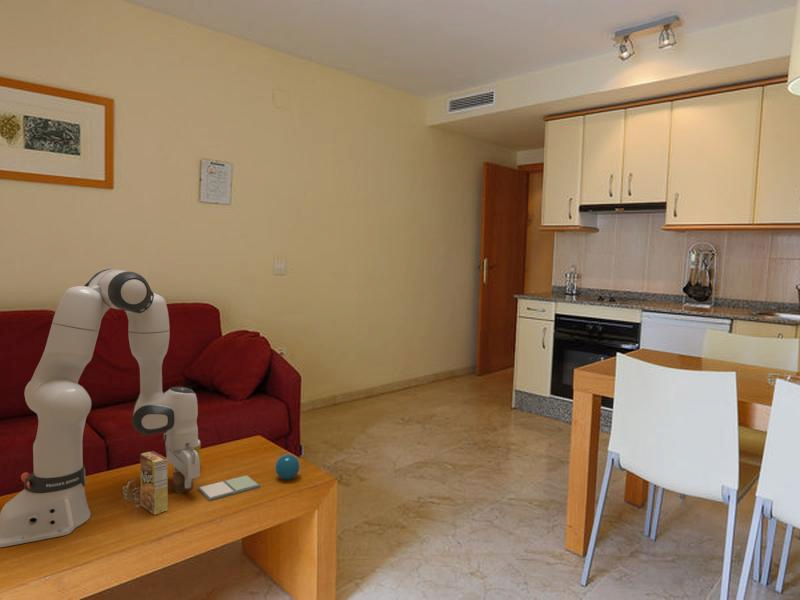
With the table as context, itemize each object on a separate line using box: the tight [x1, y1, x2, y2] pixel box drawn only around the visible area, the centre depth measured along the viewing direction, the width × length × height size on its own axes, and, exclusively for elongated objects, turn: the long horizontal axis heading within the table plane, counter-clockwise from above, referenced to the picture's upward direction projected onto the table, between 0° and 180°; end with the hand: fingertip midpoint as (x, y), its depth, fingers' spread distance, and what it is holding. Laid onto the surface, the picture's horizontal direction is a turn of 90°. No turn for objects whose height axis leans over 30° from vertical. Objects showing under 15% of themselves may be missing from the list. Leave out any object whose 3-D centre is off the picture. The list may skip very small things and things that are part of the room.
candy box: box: [139, 450, 169, 516], centre depth 152 cm, size 9×4×15 cm, turn 50°
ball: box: [274, 453, 301, 481], centre depth 175 cm, size 8×8×8 cm
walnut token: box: [172, 471, 194, 494], centre depth 165 cm, size 4×4×5 cm
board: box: [197, 474, 261, 502], centre depth 167 cm, size 16×10×1 cm, turn 130°
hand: (182, 483), depth 166 cm, fingers open, 6 cm apart
